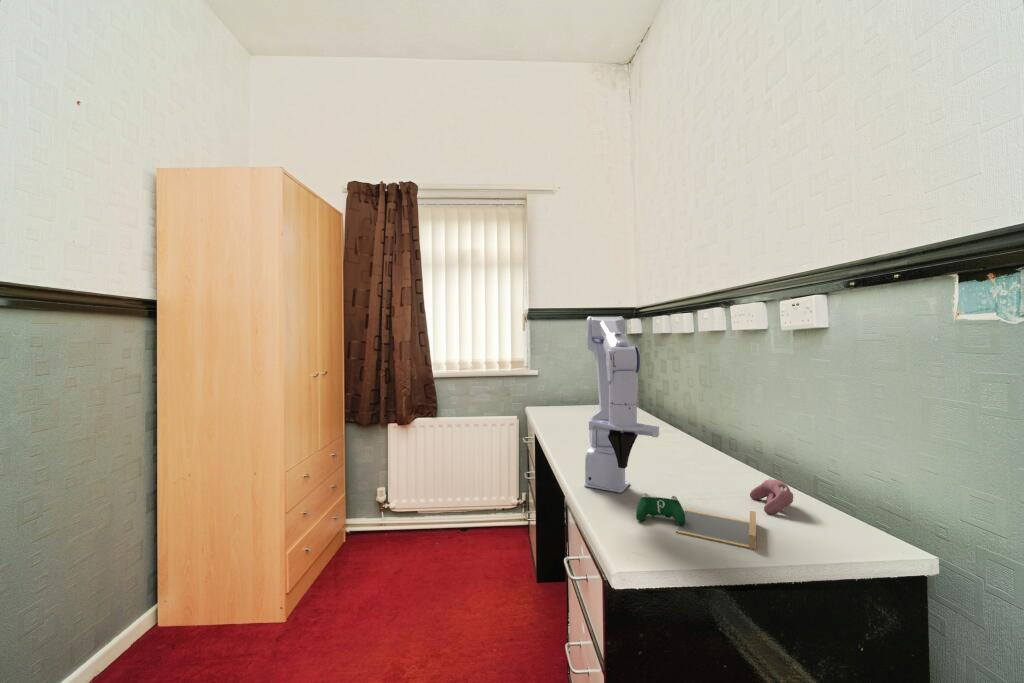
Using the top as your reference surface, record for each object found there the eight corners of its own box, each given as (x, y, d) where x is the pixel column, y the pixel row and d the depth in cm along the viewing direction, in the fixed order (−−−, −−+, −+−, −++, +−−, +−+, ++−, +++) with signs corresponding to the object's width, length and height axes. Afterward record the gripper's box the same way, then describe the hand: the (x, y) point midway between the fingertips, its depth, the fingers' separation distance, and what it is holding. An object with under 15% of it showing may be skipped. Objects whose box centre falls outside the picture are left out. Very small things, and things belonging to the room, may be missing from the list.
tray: (676, 532, 79) (676, 519, 79) (685, 510, 90) (685, 499, 90) (755, 549, 73) (755, 536, 73) (755, 523, 83) (755, 511, 83)
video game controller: (785, 524, 87) (802, 494, 86) (763, 512, 88) (780, 483, 87) (766, 505, 97) (781, 479, 96) (746, 495, 98) (761, 469, 97)
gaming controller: (685, 531, 83) (683, 502, 87) (685, 523, 81) (683, 493, 85) (636, 526, 86) (637, 498, 90) (635, 518, 84) (636, 489, 88)
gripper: (583, 402, 90) (583, 466, 90) (654, 408, 82) (654, 477, 82) (594, 399, 96) (594, 458, 96) (661, 403, 89) (661, 468, 89)
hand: (622, 466), depth 90 cm, fingers closed
